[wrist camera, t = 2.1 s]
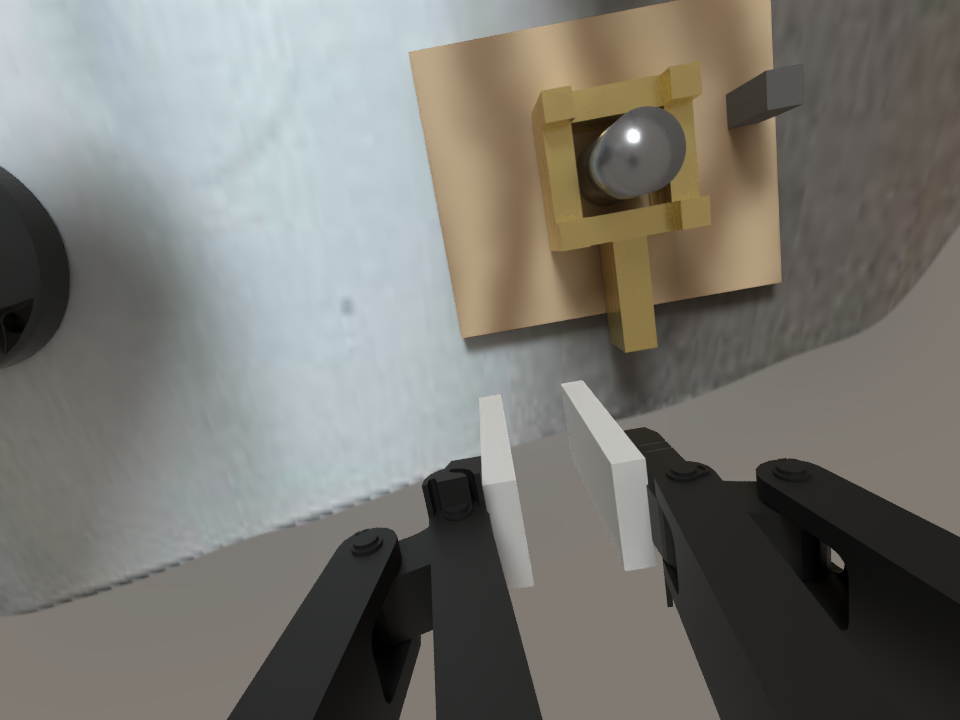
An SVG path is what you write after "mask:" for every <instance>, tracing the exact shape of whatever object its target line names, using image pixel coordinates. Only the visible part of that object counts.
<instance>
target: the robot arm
mask: <svg viewBox="0 0 960 720" xmlns="http://www.w3.org/2000/svg"><path fill="white" fill-rule="evenodd" d="M68 293H69V273H68V265H67V259H66V255H65V251H64V248H63V245H62V242H61V239H60V237H59V234H58V232H57V230H56V228H55V226H54V224H53V222H52V220H51V218H50V217H49V215H48V214H47V212H46V210H45V209H44V208H43V206H42V205H41V204H40V202H39V201H38V200H37V199H36V197H35V196H34V195H33V194H32V193H31V192H30V191H29V190H28V188H27V187H26V186H24V185H23V184H22V183H21V182H20V181H19V180H18V179H17V178H16V177H14V176H13V175H12V174H11V173H9V172H8V171H6V170H5V169H4V168H2V167H1V166H0V368H4V367H8V366H11V365H14V364H16V363H19V362H21V361H23V360H25V359H27V358H29V357H30V356H32V355H33V354H35V353H36V352H37V351H39V350H40V349H41V348H42V347H43V346H44V345H45V344H46V343H47V342H48V341H49V340H50V338H51V337H52V336H53V334H54V333H55V331H56V330H57V328H58V326H59V324H60V322H61V320H62V318H63V315H64V312H65V309H66V305H67V300H68ZM561 389H562V396H563V402H564V409H565V416H566V423H567V430H568V436H569V444H570V451H571V456H572V458H573V461H574V463H575V465H576V467H577V469H578V471H579V473H580V476H581V478H582V480H583V482H584V484H585V487H586V489H587V491H588V493H589V495H590V497H591V500H592V501H593V504H594V506H595V508H596V510H597V512H598V514H599V517H600V519H601V521H602V523H603V525H604V527H605V530H606V532H607V534H608V536H609V538H610V541H611V543H612V545H613V547H614V549H615V551H616V554H617V556H618V558H619V560H620V562H621V564H622V567H623V569H624V571H629V570H636V569H642V568H648V567H654V566H657V561H656V551H655V546H656V547H657V549H658V551H659V552H660V554H661V556H662V557H663V567H664V576H665V585H666V595H667V604H668V607H673V600H674V603H675V605H676V608H677V610H678V613H679V615H680V618H681V620H682V623H683V625H684V628H685V630H686V633H687V636H688V638H689V640H690V643H691V646H692V648H693V651H694V653H695V656H696V658H697V661H698V663H699V666H700V668H701V671H702V674H703V676H704V679H705V681H706V683H707V686H708V688H709V691H710V694H711V696H712V699H713V701H714V704H715V706H716V709H717V712H718V714H719V717H720V719H721V720H960V537H958V536H956V535H955V534H953V533H951V532H949V531H947V530H945V529H943V528H941V527H939V526H937V525H935V524H933V523H931V522H929V521H927V520H925V519H923V518H921V517H919V516H917V515H915V514H913V513H911V512H909V511H907V510H905V509H903V508H901V507H899V506H897V505H895V504H893V503H891V502H889V501H887V500H885V499H883V498H881V497H879V496H878V495H875V494H874V493H872V492H869V491H868V490H866V489H864V488H862V487H860V486H857V485H856V484H854V483H851V482H850V481H848V480H846V479H844V478H842V477H840V476H838V475H836V474H834V473H832V472H830V471H828V470H826V469H824V468H822V467H820V466H818V465H815V464H812V463H809V462H805V461H800V460H797V459H786V458H784V459H778V460H772V461H768V462H765V463H762V464H760V465H759V466H758V467H757V468H756V478H757V481H754V482H753V481H752V482H751V481H747V482H746V481H743V482H742V481H737V482H736V481H722V479H721V478H720V477H719V476H718V474H717V473H716V472H715V471H714V470H713V469H712V468H710V467H709V466H707V465H704V464H701V463H698V462H691V461H685V460H684V459H683V458H682V457H681V456H680V455H679V454H678V453H677V452H676V451H675V450H674V449H673V448H671V446H670V445H669V444H668V443H667V442H665V439H663V437H662V436H661V435H660V434H658V433H657V432H655V431H653V430H650V429H647V428H645V427H643V428H637V429H631V430H625V431H623V430H622V429H621V428H620V427H619V425H618V424H617V423H616V421H615V420H614V419H613V418H612V417H611V415H610V414H609V413H608V412H607V410H606V409H605V408H604V407H603V405H602V404H601V403H600V402H599V400H598V399H597V398H596V397H595V395H594V394H593V393H592V392H591V390H590V389H589V388H588V387H587V385H586V384H585V383H584V382H583V381H582V380H581V381H575V382H569V383H564V384H561ZM479 402H480V433H481V456H478V457H473V458H467V459H461V460H455V461H451V462H450V463H449V464H448V465H447V467H446V468H445V469H442V470H439V471H437V472H435V473H433V474H431V475H429V476H428V477H427V478H426V479H425V480H424V481H423V484H422V489H423V493H424V497H425V502H426V507H427V511H428V516H429V527H428V528H426V529H425V530H423V531H421V532H420V533H418V534H415V535H413V536H411V537H408V538H405V539H402V540H400V541H398V538H397V535H396V534H395V532H394V531H393V530H390V529H388V528H372V529H365V530H362V531H361V532H360V531H359V532H357V533H355V534H354V535H353V536H351V537H349V538H348V539H346V540H345V541H344V542H343V543H342V544H341V545H340V546H339V547H338V549H337V550H336V552H335V553H334V555H333V556H332V558H331V559H330V561H329V563H328V564H327V566H326V567H325V569H324V570H323V572H322V574H321V575H320V576H319V578H318V580H317V581H316V583H315V584H314V586H313V587H312V589H311V590H310V592H309V594H308V595H307V597H306V598H305V600H304V601H303V603H302V604H301V606H300V607H299V609H298V610H297V612H296V614H295V615H294V617H293V618H292V620H291V621H290V623H289V624H288V626H287V627H286V629H285V631H284V632H283V634H282V635H281V637H280V638H279V640H278V641H277V643H276V644H275V646H274V648H273V649H272V651H271V652H270V654H269V655H268V657H267V658H266V660H265V662H264V663H263V665H262V666H261V668H260V669H259V671H258V672H257V674H256V675H255V677H254V678H253V680H252V682H251V683H250V685H249V686H248V688H247V689H246V691H245V692H244V694H243V695H242V697H241V699H240V700H239V702H238V703H237V705H236V706H235V708H234V709H233V711H232V712H231V714H230V716H229V717H228V719H227V720H399V717H400V714H401V711H402V707H403V704H404V700H405V697H406V694H407V690H408V687H409V683H410V680H411V676H412V673H413V670H414V666H415V663H416V659H417V656H418V652H419V649H420V646H421V634H424V633H426V632H429V631H431V630H433V637H434V665H435V692H436V693H435V694H436V720H542V716H541V712H540V708H539V704H538V700H537V697H536V693H535V689H534V685H533V682H532V678H531V674H530V670H529V667H528V663H527V659H526V655H525V652H524V648H523V644H522V640H521V637H520V633H519V629H518V625H517V622H516V618H515V614H514V610H513V606H512V603H511V599H510V595H509V591H508V590H511V589H517V588H524V587H530V586H534V582H533V576H532V570H531V565H530V559H529V553H528V547H527V541H526V536H525V530H524V524H523V518H522V513H521V507H520V501H519V496H518V490H517V484H516V478H515V473H514V467H513V461H512V456H511V451H510V444H509V439H508V433H507V427H506V422H505V416H504V410H503V405H502V399H501V394H500V395H494V396H488V397H482V398H479ZM831 548H832V549H833V550H834V551H836V552H837V553H838V554H839V556H840V557H841V559H842V560H843V561H844V563H845V566H844V570H843V569H841V568H840V567H838V566H837V565H835V564H834V563H833V562H831Z"/></svg>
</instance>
